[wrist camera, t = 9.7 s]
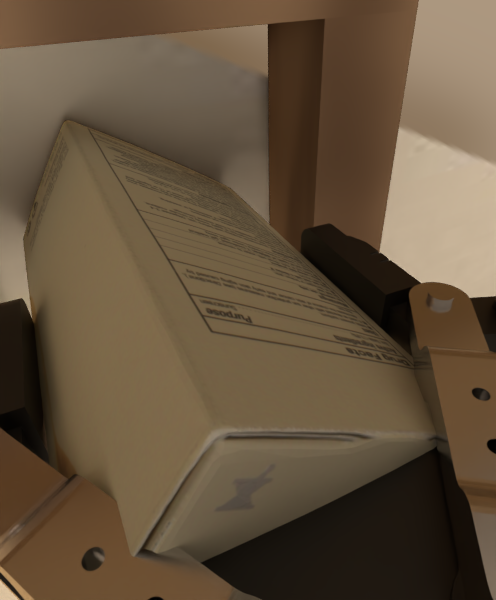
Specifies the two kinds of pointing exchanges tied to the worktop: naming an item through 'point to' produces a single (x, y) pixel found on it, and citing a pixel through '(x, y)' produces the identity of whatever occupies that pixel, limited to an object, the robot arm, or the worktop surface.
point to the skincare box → (201, 355)
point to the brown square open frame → (283, 89)
